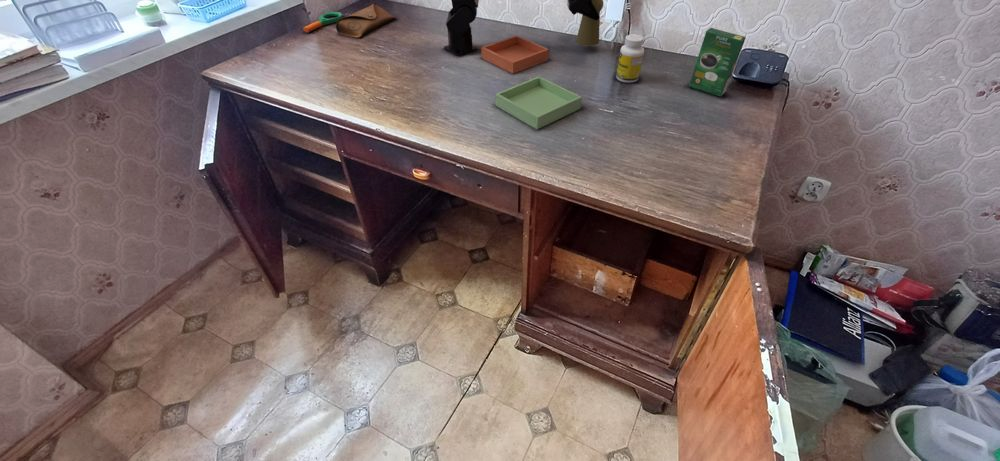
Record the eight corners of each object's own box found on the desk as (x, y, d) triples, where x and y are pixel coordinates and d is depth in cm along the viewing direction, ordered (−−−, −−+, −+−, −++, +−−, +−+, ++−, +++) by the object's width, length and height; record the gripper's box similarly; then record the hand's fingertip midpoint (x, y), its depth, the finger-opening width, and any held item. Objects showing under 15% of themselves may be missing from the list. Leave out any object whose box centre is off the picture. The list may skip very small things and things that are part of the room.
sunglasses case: (360, 37, 130) (346, 13, 127) (346, 46, 134) (332, 24, 131) (398, 16, 142) (385, -5, 139) (383, 25, 146) (371, 4, 143)
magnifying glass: (330, 14, 144) (329, 9, 143) (347, 17, 143) (345, 11, 142) (298, 32, 134) (296, 25, 133) (315, 34, 133) (314, 28, 131)
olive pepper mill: (572, 43, 123) (577, -2, 115) (580, 35, 127) (586, -9, 119) (594, 47, 121) (601, 2, 113) (602, 39, 125) (609, -5, 117)
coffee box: (726, 93, 107) (747, 35, 98) (722, 98, 105) (742, 39, 96) (692, 83, 110) (709, 26, 101) (687, 87, 109) (704, 30, 100)
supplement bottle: (611, 75, 114) (618, 34, 107) (631, 72, 115) (639, 31, 108) (622, 85, 110) (630, 43, 103) (642, 81, 111) (651, 40, 104)
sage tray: (495, 105, 103) (495, 93, 101) (538, 87, 109) (539, 76, 107) (537, 129, 95) (537, 117, 94) (580, 108, 102) (582, 96, 100)
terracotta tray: (481, 58, 121) (481, 47, 119) (516, 45, 127) (516, 35, 125) (512, 73, 114) (513, 62, 112) (548, 60, 120) (549, 49, 118)
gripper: (590, -51, 101) (631, 4, 108) (579, -70, 114) (615, -20, 122) (551, -12, 106) (592, 38, 114) (544, -34, 120) (581, 11, 127)
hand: (596, 15), depth 119 cm, fingers closed on olive pepper mill, 5 cm apart
